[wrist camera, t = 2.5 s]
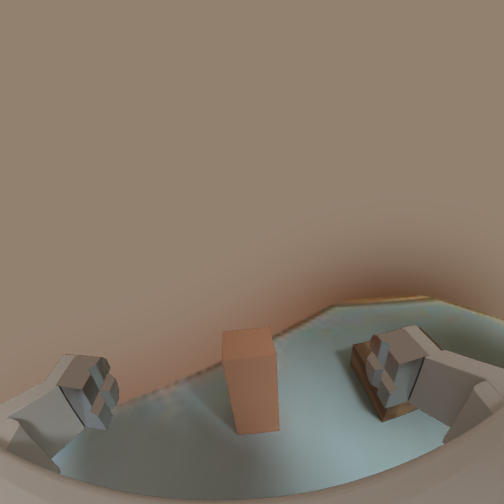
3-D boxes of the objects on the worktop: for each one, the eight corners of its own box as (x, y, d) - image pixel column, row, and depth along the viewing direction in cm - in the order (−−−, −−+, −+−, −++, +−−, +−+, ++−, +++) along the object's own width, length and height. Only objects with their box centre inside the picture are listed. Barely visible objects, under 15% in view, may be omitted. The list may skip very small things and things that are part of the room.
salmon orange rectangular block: (274, 402, 26) (269, 326, 23) (279, 430, 23) (276, 355, 20) (236, 406, 26) (222, 331, 23) (237, 434, 22) (222, 360, 19)
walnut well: (415, 345, 31) (420, 327, 30) (455, 391, 22) (464, 372, 21) (350, 363, 31) (353, 344, 30) (382, 421, 21) (389, 403, 20)
